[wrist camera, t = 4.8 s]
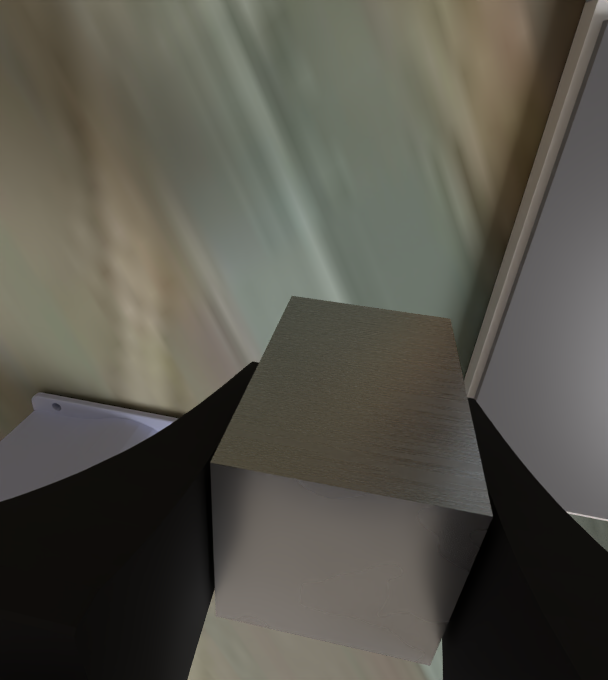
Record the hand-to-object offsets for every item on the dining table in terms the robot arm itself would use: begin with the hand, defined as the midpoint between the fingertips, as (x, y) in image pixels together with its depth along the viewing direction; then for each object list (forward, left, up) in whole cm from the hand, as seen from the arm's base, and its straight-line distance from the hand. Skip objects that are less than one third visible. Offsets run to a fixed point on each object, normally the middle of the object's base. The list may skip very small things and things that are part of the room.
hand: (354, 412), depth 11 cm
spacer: (0, 0, -2) cm, 2 cm away
